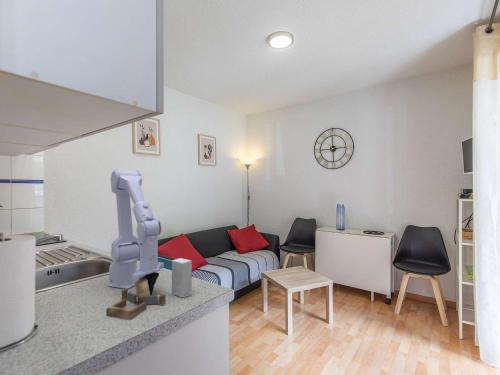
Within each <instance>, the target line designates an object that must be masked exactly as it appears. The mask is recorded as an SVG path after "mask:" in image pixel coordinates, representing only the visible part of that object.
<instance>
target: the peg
mask: <svg viewBox="0 0 500 375" xmlns="http://www.w3.org/2000/svg"><path fill="white" fill-rule="evenodd" d="M134 289H135V294H136V295H137V303H138V304H141V303H143V297H144V296H150V291H149V286H148V281H147V278H140V279H139V281H135V282H134Z"/></svg>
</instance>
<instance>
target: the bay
mask: <svg viewBox="0 0 500 375" xmlns="http://www.w3.org/2000/svg"><path fill="white" fill-rule="evenodd" d="M126 306H127V299H123V300H122V299H121V300H119V301H118V302H116V303H113V304H112V305H111V306H108V307H107V308H106V316H107V317H113V318H119V319H125V320H130V321H131V320H132V319H134V318H135V317H137V316H138V315H139V314H141V313H142V312H144V311H145V310H147V304H146V302H143V303H139V304H138V305H137V306H135V307H133V308H125V307H126Z"/></svg>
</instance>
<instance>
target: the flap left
mask: <svg viewBox="0 0 500 375" xmlns="http://www.w3.org/2000/svg"><path fill="white" fill-rule="evenodd" d="M126 300H128V301H130V302H132V303H133V304H135V303H138V299H137V295H136V293H134V292H131V291H130V290H128V291H127V299H126Z"/></svg>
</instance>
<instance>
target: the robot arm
mask: <svg viewBox="0 0 500 375" xmlns="http://www.w3.org/2000/svg"><path fill="white" fill-rule="evenodd" d="M110 174H111V175H110V187H111V192H112V194H115V197H116V210H117V211H116V213H117V225H118V226H117V227H118V236H117V238H116V239H115V240H113V241H112V242H111V250H110V257H111V260H112V262H111V263H110V265H109V269H108V284H106V286H107V287H110V288H111V287H113V288H117V289H118V288H119V289H128V290H129V289H130V288H132V287H135V285H134V282H135V281H139V279H140V278H147V281H148V286H149V291H150V296H153V293H154V288H155V284H156V282H157V280H158V278H159V276H160V273H159V272H160V271H161V269H163V268H164V267H165V266H164V264H165V263H164V262H161V261H159V260H158V259H159V258H158V257H159V255H158V252H159V251H158V250H159V245H158V244H159V240H158V239H159V236H160V234H162V233H161V232H162V224H161V221H160V220H159V219H158V218H157V216H154V214H153V210H152V208H151V206H150V203H148V202H146V201H145V198H144V194H143V191H142V182H143V175H142V172H140V170H118V169H114V170H113V171H112V172H111V173H110ZM131 203H133V207H132V206H131ZM132 213H133V214H134V217H135V221H136V223H137V226H136V235H137V236H135V235H134V230H133V219H132V217H133V216H132ZM138 261H139V268H138V267H137V265H138V263H137V262H138Z"/></svg>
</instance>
